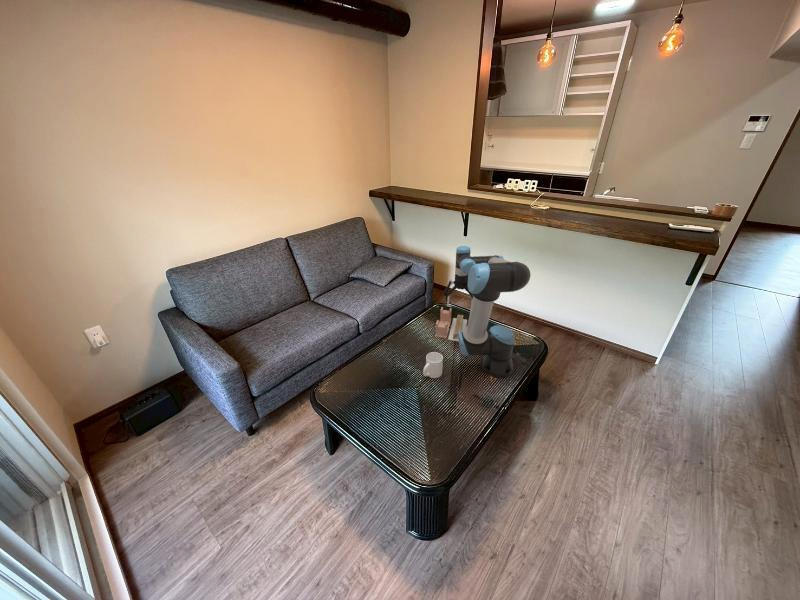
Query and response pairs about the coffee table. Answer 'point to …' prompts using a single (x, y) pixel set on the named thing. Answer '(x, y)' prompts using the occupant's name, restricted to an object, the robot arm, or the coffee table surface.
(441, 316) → the stand
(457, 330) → the rail
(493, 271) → the robot arm
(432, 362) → the mug
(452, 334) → the mat
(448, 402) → the coffee table surface
